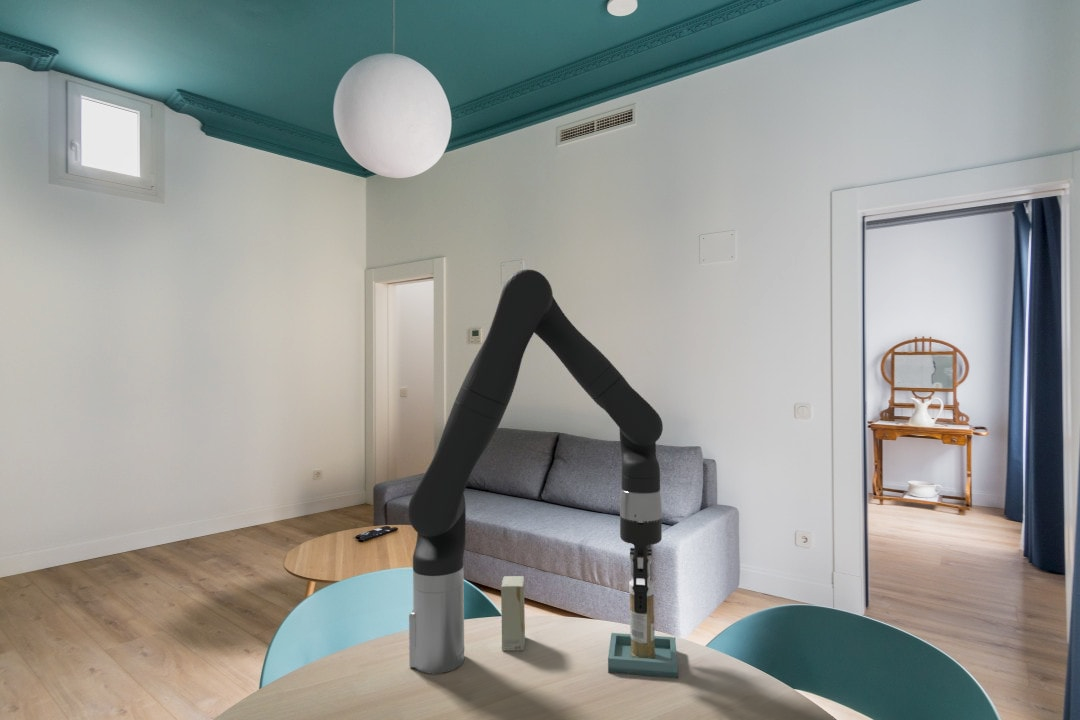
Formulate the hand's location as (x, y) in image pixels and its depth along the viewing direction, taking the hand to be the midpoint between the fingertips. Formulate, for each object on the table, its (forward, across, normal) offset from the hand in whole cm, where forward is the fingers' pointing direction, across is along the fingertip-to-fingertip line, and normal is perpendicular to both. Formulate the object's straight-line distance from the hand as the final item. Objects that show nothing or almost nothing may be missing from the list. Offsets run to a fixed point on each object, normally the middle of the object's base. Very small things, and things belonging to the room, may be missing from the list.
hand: (640, 602), depth 105 cm
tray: (+11, 0, 0) cm, 11 cm away
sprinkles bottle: (+10, 0, 0) cm, 10 cm away
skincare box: (+11, -3, -25) cm, 27 cm away
